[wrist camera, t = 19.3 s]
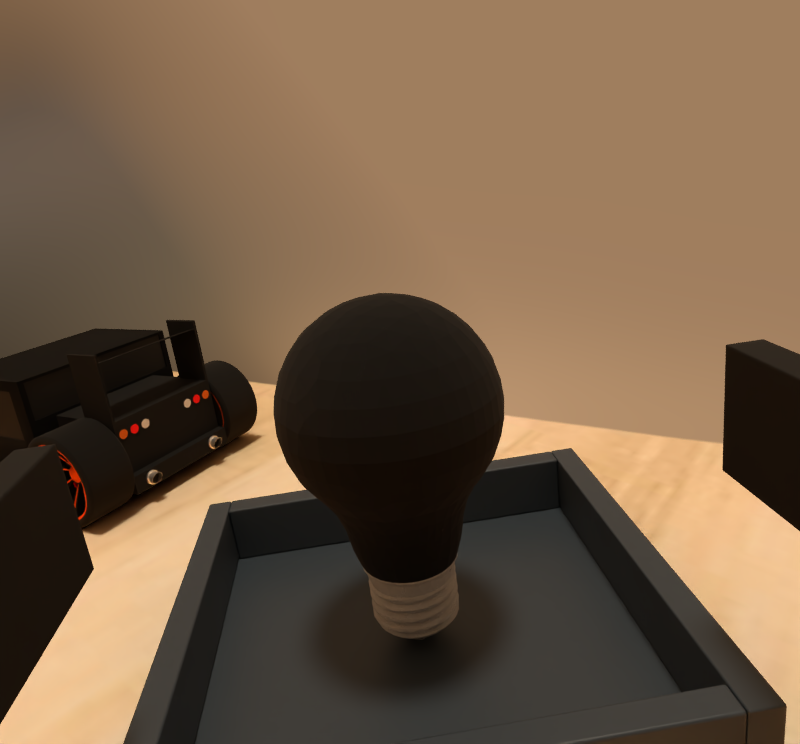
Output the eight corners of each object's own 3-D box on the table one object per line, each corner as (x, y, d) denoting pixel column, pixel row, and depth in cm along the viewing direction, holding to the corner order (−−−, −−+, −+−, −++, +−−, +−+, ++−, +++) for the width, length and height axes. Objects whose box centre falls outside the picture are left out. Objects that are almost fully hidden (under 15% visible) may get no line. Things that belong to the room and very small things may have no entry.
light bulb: (529, 576, 21) (506, 265, 18) (512, 726, 16) (475, 320, 13) (356, 568, 23) (308, 280, 20) (287, 701, 18) (207, 335, 14)
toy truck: (50, 408, 47) (19, 307, 45) (266, 437, 37) (240, 308, 35) (-116, 475, 39) (-165, 355, 36) (104, 537, 28) (56, 375, 26)
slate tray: (574, 508, 26) (571, 447, 25) (781, 803, 14) (788, 705, 13) (224, 564, 25) (209, 504, 24) (124, 927, 13) (89, 830, 12)
